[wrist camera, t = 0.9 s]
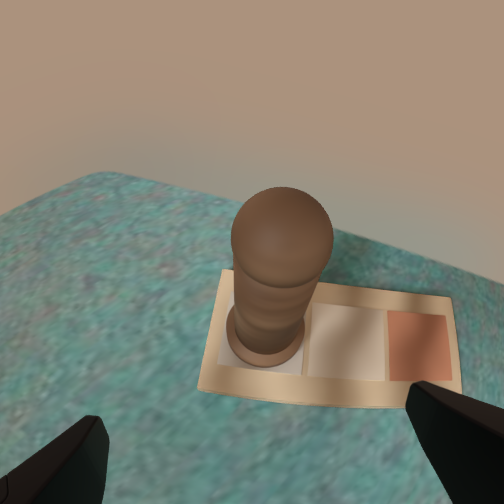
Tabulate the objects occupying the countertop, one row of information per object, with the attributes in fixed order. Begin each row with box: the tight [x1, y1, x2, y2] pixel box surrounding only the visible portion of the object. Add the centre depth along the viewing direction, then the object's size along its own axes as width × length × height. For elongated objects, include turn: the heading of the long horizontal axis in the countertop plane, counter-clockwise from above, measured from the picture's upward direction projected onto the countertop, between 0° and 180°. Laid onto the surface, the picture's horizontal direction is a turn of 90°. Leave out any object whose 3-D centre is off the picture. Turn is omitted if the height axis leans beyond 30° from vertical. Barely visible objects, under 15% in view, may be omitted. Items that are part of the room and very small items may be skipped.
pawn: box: [226, 187, 334, 368], centre depth 18 cm, size 6×6×13 cm
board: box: [197, 269, 462, 408], centre depth 24 cm, size 21×10×1 cm, turn 82°
